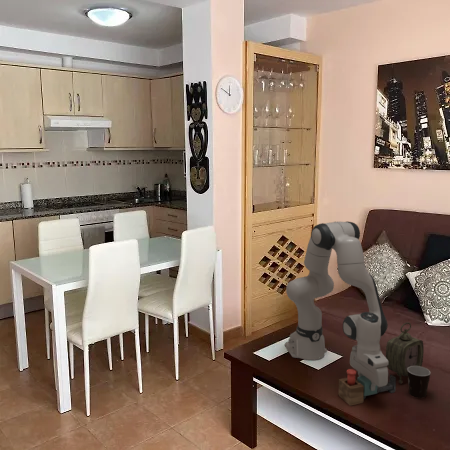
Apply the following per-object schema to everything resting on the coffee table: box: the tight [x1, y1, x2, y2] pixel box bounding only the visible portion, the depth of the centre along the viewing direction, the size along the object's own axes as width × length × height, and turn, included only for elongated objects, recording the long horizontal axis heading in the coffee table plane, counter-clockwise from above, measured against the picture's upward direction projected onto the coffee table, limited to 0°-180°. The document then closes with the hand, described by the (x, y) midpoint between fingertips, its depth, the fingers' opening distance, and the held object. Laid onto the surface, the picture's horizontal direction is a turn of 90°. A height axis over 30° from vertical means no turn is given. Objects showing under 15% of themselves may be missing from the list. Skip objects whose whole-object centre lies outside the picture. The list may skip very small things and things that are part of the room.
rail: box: [363, 374, 397, 400], centre depth 188 cm, size 4×17×6 cm, turn 109°
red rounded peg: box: [346, 368, 357, 386], centre depth 183 cm, size 4×4×6 cm
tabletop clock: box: [385, 322, 425, 385], centre depth 199 cm, size 14×9×25 cm, turn 123°
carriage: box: [356, 376, 378, 397], centre depth 186 cm, size 5×6×6 cm
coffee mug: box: [407, 366, 431, 399], centre depth 185 cm, size 12×9×10 cm
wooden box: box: [338, 377, 364, 407], centre depth 184 cm, size 8×6×7 cm
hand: (367, 386), depth 186 cm, fingers closed on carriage, 5 cm apart
